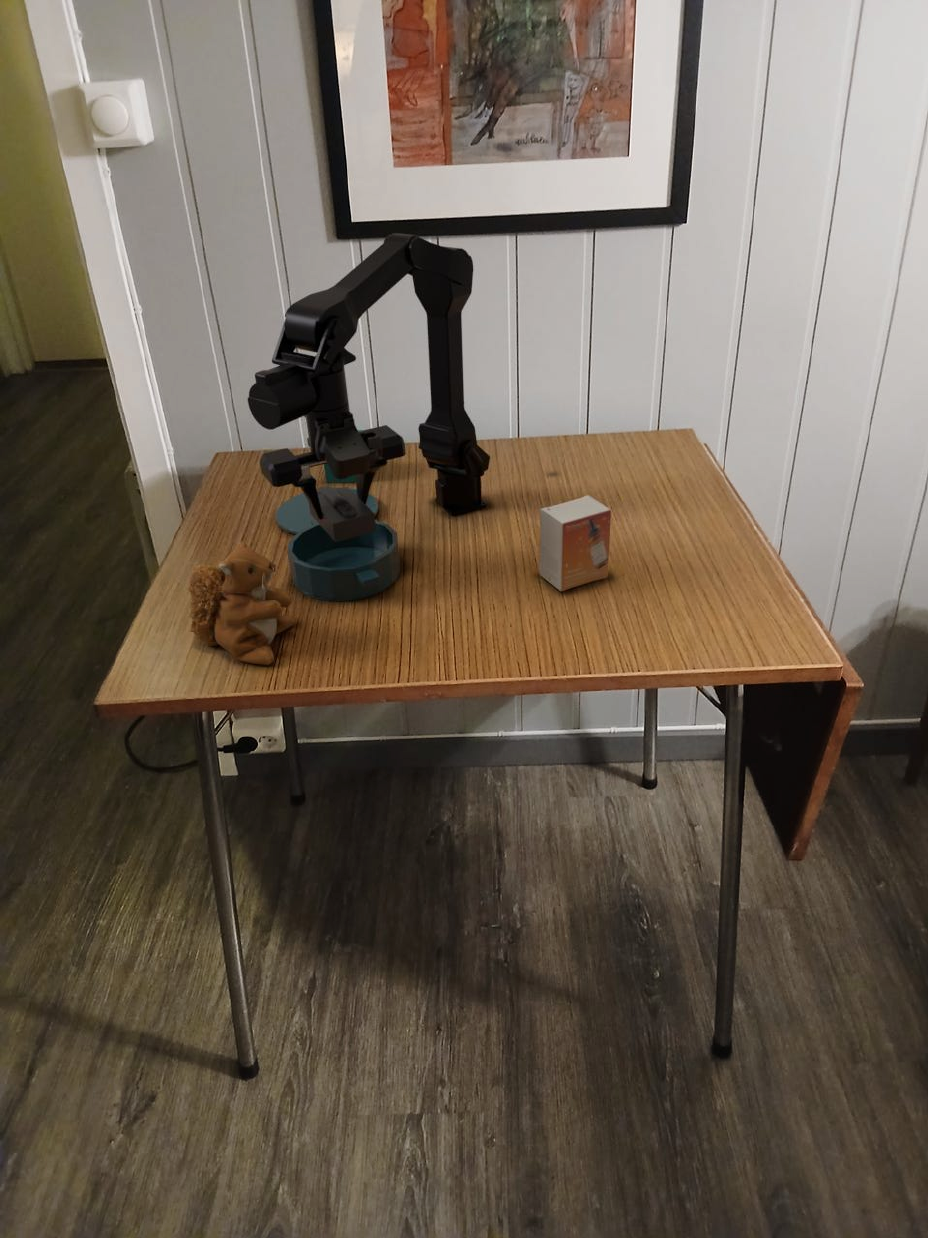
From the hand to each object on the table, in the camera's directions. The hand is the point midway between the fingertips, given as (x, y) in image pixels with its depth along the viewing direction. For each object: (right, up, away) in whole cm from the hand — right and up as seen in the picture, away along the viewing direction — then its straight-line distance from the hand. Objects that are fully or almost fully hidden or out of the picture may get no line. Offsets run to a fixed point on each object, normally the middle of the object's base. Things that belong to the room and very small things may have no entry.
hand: (341, 512), depth 128 cm
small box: (+32, -9, +2) cm, 34 cm away
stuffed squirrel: (-12, -18, -8) cm, 23 cm away
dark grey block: (0, -1, +1) cm, 2 cm away
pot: (0, -8, +5) cm, 10 cm away
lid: (-5, +2, +21) cm, 22 cm away
